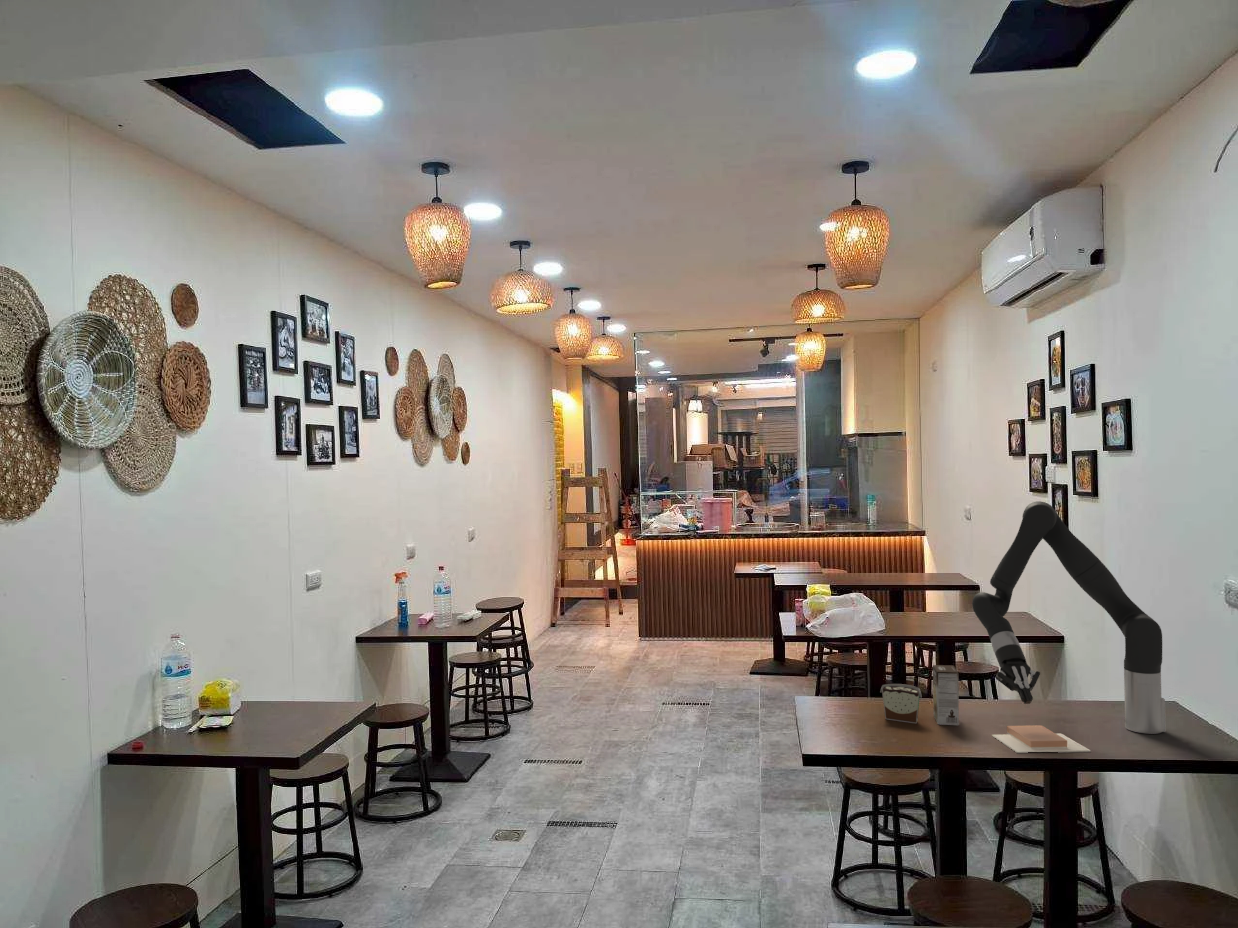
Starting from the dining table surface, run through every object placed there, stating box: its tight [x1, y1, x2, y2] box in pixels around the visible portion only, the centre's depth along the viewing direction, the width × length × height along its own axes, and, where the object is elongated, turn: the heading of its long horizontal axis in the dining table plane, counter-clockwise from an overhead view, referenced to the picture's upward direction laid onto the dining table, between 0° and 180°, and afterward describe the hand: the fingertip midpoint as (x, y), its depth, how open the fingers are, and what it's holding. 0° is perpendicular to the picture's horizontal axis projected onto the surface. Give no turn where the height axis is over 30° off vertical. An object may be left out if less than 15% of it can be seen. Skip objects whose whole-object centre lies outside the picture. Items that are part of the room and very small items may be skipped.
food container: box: [879, 683, 923, 724], centre depth 264 cm, size 12×6×10 cm, turn 58°
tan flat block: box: [1006, 724, 1067, 748], centre depth 240 cm, size 10×2×14 cm
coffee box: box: [932, 664, 960, 726], centre depth 261 cm, size 9×6×16 cm
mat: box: [991, 733, 1092, 754], centre depth 238 cm, size 20×15×1 cm
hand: (1028, 702), depth 244 cm, fingers closed
